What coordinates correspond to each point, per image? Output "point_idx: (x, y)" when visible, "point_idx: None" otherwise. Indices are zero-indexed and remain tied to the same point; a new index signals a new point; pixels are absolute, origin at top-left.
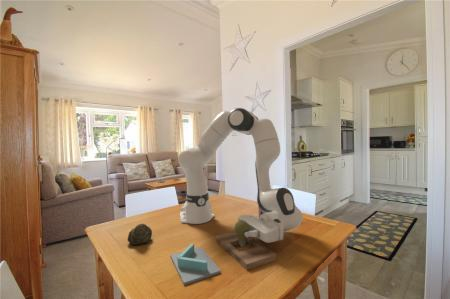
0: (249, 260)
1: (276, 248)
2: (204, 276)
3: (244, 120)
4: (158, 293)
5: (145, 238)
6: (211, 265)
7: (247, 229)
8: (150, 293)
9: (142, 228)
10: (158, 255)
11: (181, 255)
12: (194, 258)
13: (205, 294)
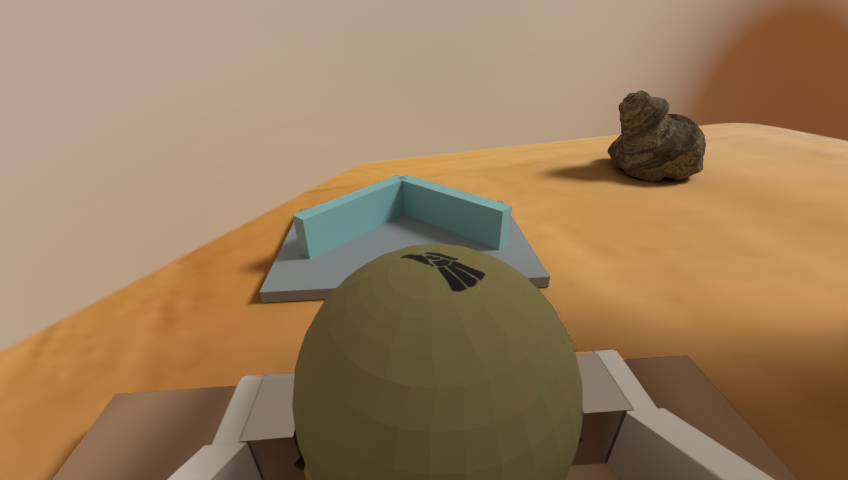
0: (122, 435)
1: None
2: (282, 248)
3: None
4: (318, 187)
5: (630, 155)
6: (330, 274)
7: (294, 422)
8: (331, 180)
9: (625, 106)
10: (525, 192)
11: (412, 181)
12: (433, 242)
13: (205, 244)
